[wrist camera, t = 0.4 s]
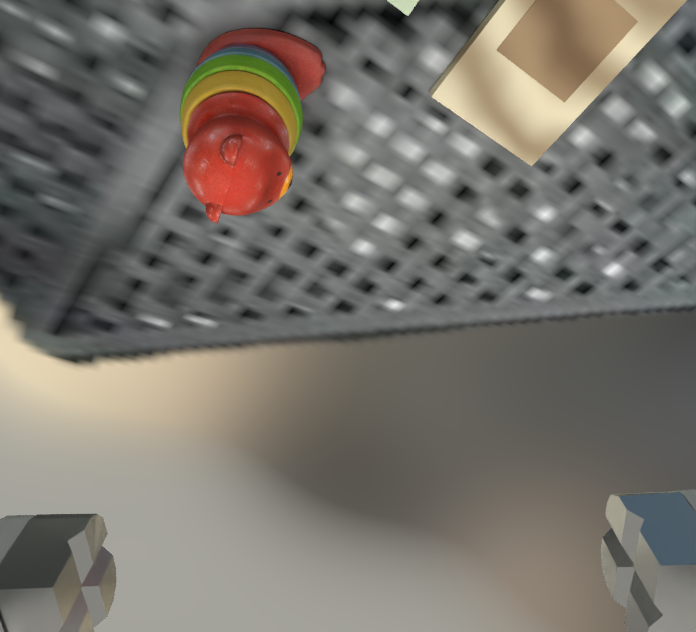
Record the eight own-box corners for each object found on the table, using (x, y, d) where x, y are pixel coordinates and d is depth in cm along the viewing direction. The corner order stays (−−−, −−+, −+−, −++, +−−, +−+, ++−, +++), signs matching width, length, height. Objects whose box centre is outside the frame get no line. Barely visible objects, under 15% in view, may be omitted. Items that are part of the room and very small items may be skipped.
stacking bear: (283, 160, 60) (272, 276, 46) (177, 114, 57) (132, 224, 43) (334, 54, 54) (338, 152, 40) (218, -4, 51) (181, 81, 37)
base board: (606, -142, 46) (613, -140, 45) (710, -37, 50) (717, -33, 49) (429, 91, 56) (431, 97, 55) (528, 160, 61) (531, 166, 60)
